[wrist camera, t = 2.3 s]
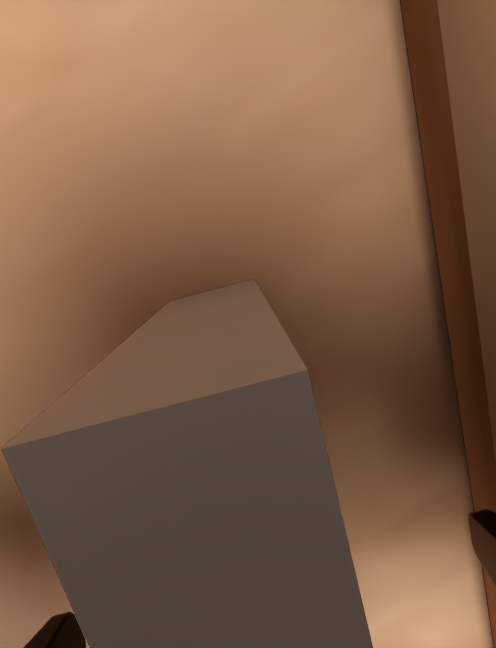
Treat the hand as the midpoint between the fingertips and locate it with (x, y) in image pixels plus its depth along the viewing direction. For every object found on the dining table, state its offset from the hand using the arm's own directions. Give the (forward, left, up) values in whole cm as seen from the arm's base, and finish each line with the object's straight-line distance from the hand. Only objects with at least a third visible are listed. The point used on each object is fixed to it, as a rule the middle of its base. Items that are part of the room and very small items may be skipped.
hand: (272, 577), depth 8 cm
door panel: (0, 0, -4) cm, 4 cm away
